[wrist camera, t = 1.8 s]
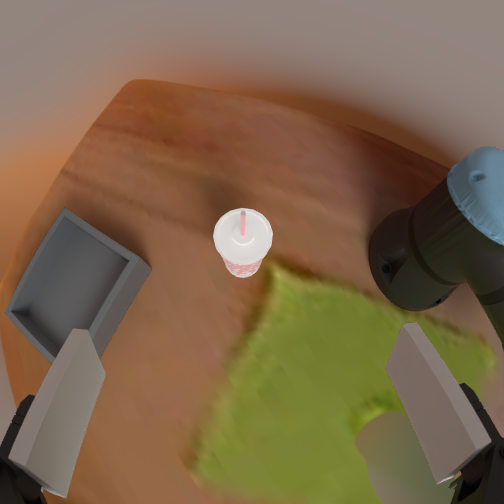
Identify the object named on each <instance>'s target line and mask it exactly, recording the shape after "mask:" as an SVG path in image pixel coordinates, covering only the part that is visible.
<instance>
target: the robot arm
mask: <svg viewBox="0 0 504 504" xmlns="http://www.w3.org/2000/svg"><path fill="white" fill-rule="evenodd" d="M369 261H370V267H371V271H372V274H373V277H374V279H375V281H376V283H377V285H378V287H379V289H380V290H381V291H382V293H383V294H384V295H385V296H386V297H387V298H388V299H389V300H390V301H391V302H392V303H394V304H395V305H397V306H398V307H400V308H403V309H406V310H409V311H423V310H427V309H430V308H433V307H435V306H437V305H439V304H441V303H442V302H443V301H445V300H446V299H447V298H448V297H449V295H450V294H451V293H452V292H453V291H454V290H455V289H456V288H457V287H458V285H459V284H461V283H463V282H466V281H467V282H468V284H469V286H470V287H471V289H472V290H473V292H474V294H475V295H476V297H477V299H478V300H479V302H480V304H481V306H482V307H483V309H484V311H485V312H486V314H487V316H488V318H489V320H490V321H491V323H492V325H493V327H494V329H495V331H496V333H497V335H498V336H499V338H500V340H501V342H502V347H503V350H504V151H502V150H500V149H498V148H496V147H490V146H486V147H479V148H477V149H475V150H473V151H472V152H471V153H470V154H468V155H467V156H466V157H465V158H464V159H463V160H462V161H461V162H458V163H456V164H455V165H454V166H453V167H452V168H451V169H450V171H449V174H448V176H447V177H446V178H445V179H444V180H443V181H442V182H441V183H439V184H438V185H437V186H436V187H435V188H434V189H433V190H432V191H431V192H430V193H429V194H428V195H427V196H426V197H425V198H424V199H423V200H422V201H421V202H420V203H419V204H418V205H416V206H412V207H409V208H406V209H401V210H398V211H395V212H393V213H392V214H390V215H389V216H387V217H386V218H385V219H384V220H383V221H382V222H381V223H380V224H379V225H378V227H377V228H376V230H375V231H374V233H373V236H372V238H371V242H370V247H369ZM385 369H386V371H387V373H388V375H389V377H390V379H391V381H392V383H393V385H394V388H395V390H396V392H397V394H398V396H399V398H400V400H401V402H402V404H403V407H404V409H405V411H406V413H407V415H408V417H409V420H410V422H411V424H412V426H413V429H414V431H415V433H416V435H417V437H418V440H419V442H420V445H421V447H422V449H423V451H424V454H425V456H426V459H427V461H428V464H429V466H430V469H431V471H432V473H433V476H434V478H435V481H436V484H438V483H440V482H443V481H445V480H448V479H450V478H452V477H453V476H454V475H456V474H457V473H458V472H459V471H461V474H462V475H461V476H459V477H458V478H457V479H456V480H454V481H453V482H452V483H451V484H450V486H449V488H452V487H453V486H455V485H456V484H457V486H456V487H455V488H454V489H455V492H454V496H453V499H452V501H451V504H504V438H502V437H501V435H500V434H499V432H498V431H497V429H496V427H495V425H494V424H493V422H492V420H491V419H490V417H489V415H488V413H487V412H486V410H485V409H483V405H482V404H481V402H479V399H478V397H477V396H476V394H475V392H474V391H473V390H472V389H471V388H470V387H469V386H468V385H466V384H465V383H462V384H458V383H457V381H456V379H455V378H454V376H453V375H452V373H451V372H450V370H449V369H448V367H447V366H446V364H445V363H444V361H443V360H442V358H441V357H440V355H439V354H438V352H437V351H436V349H435V348H434V346H433V345H432V343H431V342H430V341H429V339H428V338H427V336H426V335H425V333H424V332H423V331H422V329H421V328H420V326H419V325H418V324H417V322H416V323H408V324H402V327H401V330H400V333H399V335H398V338H397V341H396V343H395V346H394V348H393V351H392V353H391V356H390V358H389V361H388V363H387V366H386V368H385ZM105 376H106V373H105V371H104V369H103V366H102V364H101V362H100V359H99V357H98V355H97V352H96V350H95V347H94V345H93V342H92V339H91V337H90V334H89V331H88V330H84V329H74V328H73V330H72V331H71V333H70V335H69V336H68V338H67V340H66V341H65V343H64V345H63V346H62V348H61V350H60V352H59V353H58V355H57V357H56V359H55V360H54V362H53V364H52V366H51V368H50V370H49V371H48V373H47V375H46V377H45V379H44V381H43V383H42V385H41V387H40V388H39V390H38V392H37V394H36V396H33V395H30V394H29V395H28V396H27V397H26V398H25V399H24V400H23V401H22V402H21V403H20V405H19V407H18V409H17V411H16V415H14V417H13V419H12V423H11V424H10V426H9V428H8V430H7V433H6V435H5V437H4V439H3V441H2V444H1V446H0V504H47V502H46V499H45V497H44V495H43V494H42V492H41V487H43V488H45V489H46V490H47V491H49V492H51V493H53V494H56V495H59V496H61V497H64V498H67V494H68V490H69V486H70V482H71V478H72V475H73V471H74V468H75V464H76V461H77V457H78V454H79V451H80V448H81V444H82V441H83V438H84V435H85V432H86V429H87V426H88V423H89V420H90V417H91V414H92V411H93V409H94V406H95V403H96V400H97V397H98V395H99V392H100V389H101V387H102V384H103V381H104V379H105Z"/></svg>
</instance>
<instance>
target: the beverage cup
mask: <svg viewBox="0 0 504 504" xmlns="http://www.w3.org/2000/svg"><path fill="white" fill-rule="evenodd" d="M272 236H273V232H272V229H271V226H270V223H269V222H268V221H267V219H266V218H265V217H264V216H263V215H262V214H260V213H258V212H256V211H255V210H252V209H245V208H240V209H235V210H231V211H229V212H228V213H226V214H225V215H223V216H222V217H221V218H220V219H219V221H218V222H217V224H216V225H215V230H214V235H213V238H214V242H215V246H216V249H217V251H218V252H219V253H220V254H221V256H222V257H223V260H224V262H225V265H226V267H227V269H228V270H229V271H230V273H232V274H233V275H235V276H237V277H243V278H244V277H248V276H251V275H252V274H254V273H255V272H256V271H257V270H258V268H259V266H260V264H261V262H262V259H263V257H264V256H265V255H266V254H267V252H268V250H269V248H270V247H271V244H272Z"/></svg>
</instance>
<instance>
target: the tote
mask: <svg viewBox="0 0 504 504" xmlns="http://www.w3.org/2000/svg"><path fill="white" fill-rule="evenodd" d="M151 270H152V268H151V267H150V266H148V265H147V264H146V263H145V262H144V261H143V260H142V259H141V258H140V257H139V256H137V255H136V254H134V253H132V252H131V251H129V250H128V249H126V248H125V247H123V246H121V245H120V244H118V243H117V242H115V241H114V240H112V239H111V238H109V237H108V236H106V235H105V234H103V233H102V232H100V231H99V230H97V229H96V228H94V227H93V226H91V225H90V224H88V223H87V222H85V221H84V220H82V219H81V218H79V217H78V216H76V215H75V214H74V213H72V212H71V211H69V210H68V209H66V208H65V207H64V209H63V210H62V212H61V213H60V215H59V216H58V218H57V219H56V221H55V222H54V224H53V225H52V227H51V228H50V230H49V232H48V233H47V235H46V236H45V238H44V240H43V241H42V243H41V245H40V246H39V248H38V250H37V251H36V253H35V255H34V256H33V258H32V260H31V262H30V263H29V265H28V267H27V269H26V271H25V273H24V274H23V276H22V278H21V280H20V282H19V284H18V286H17V288H16V290H15V292H14V294H13V296H12V298H11V300H10V302H9V304H8V307H7V309H6V311H5V314H6V315H7V316H8V317H9V319H10V320H11V321H12V322H13V323H14V324H15V326H16V327H17V328H18V329H19V330H20V331H21V332H22V334H23V335H24V336H25V337H26V338H27V339H28V340H29V341H30V342H31V343H32V344H33V345H34V346H35V348H36V349H37V350H38V351H39V352H40V353H41V354H42V355H43V356H44V357H45V358H46V359H47V360H48V361H49V362H50V363H51V364H53V362H54V360H55V359H56V357H57V355H58V353H59V352H60V350H61V348H62V346H63V345H64V343H65V341H66V340H67V338H68V336H69V335H70V333H71V331H72V330H73V328H74V329H84V330H88V331H89V334H90V337H91V339H92V342H93V345H94V347H95V350H96V352H97V355H98V357H99V359H100V357H101V356H102V354H103V352H104V350H105V348H106V346H107V345H108V343H109V341H110V339H111V337H112V336H113V334H114V332H115V330H116V328H117V327H118V325H119V323H120V321H121V320H122V318H123V316H124V314H125V313H126V311H127V309H128V308H129V306H130V304H131V303H132V301H133V299H134V297H135V296H136V294H137V292H138V291H139V289H140V288H141V286H142V284H143V283H144V281H145V279H146V278H147V276H148V274H149V273H150V271H151Z"/></svg>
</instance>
